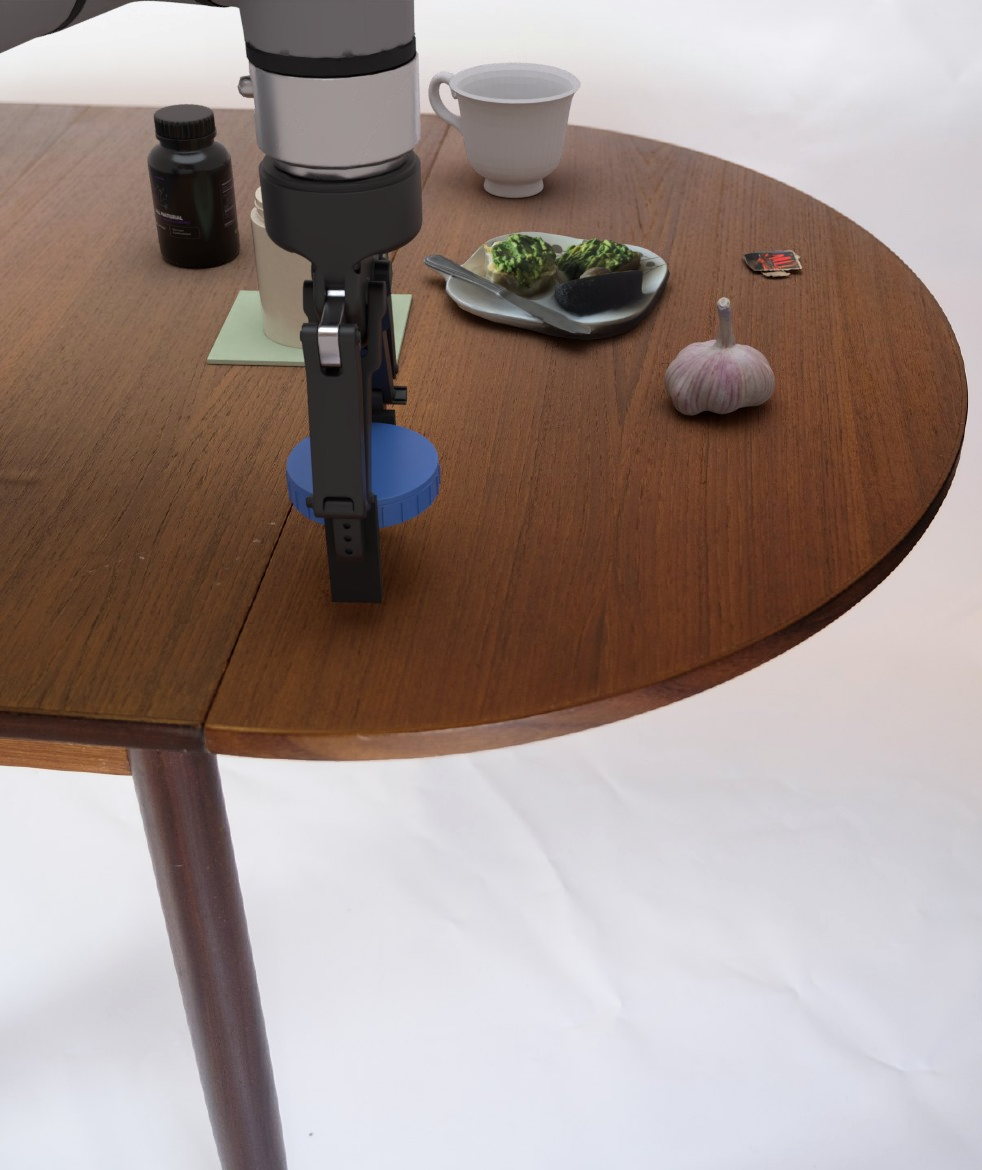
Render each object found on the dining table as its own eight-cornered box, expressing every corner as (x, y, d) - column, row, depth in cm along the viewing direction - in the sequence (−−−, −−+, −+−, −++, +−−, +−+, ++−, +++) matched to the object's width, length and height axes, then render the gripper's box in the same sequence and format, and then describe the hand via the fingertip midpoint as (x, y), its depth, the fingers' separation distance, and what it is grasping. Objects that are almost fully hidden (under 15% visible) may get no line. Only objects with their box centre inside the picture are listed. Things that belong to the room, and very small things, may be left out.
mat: (207, 364, 94) (206, 359, 94) (240, 294, 104) (239, 290, 104) (396, 369, 94) (396, 364, 94) (412, 299, 103) (412, 294, 103)
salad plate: (382, 318, 100) (379, 262, 98) (471, 236, 114) (471, 185, 111) (617, 363, 95) (622, 305, 92) (683, 271, 108) (688, 218, 105)
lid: (446, 451, 73) (445, 424, 72) (432, 533, 67) (431, 504, 66) (302, 446, 74) (300, 419, 73) (275, 528, 67) (271, 499, 66)
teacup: (459, 155, 131) (458, 52, 125) (595, 177, 125) (600, 72, 119) (402, 193, 122) (398, 85, 116) (544, 219, 117) (548, 107, 111)
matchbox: (736, 257, 110) (737, 252, 109) (791, 251, 111) (792, 246, 111) (760, 279, 106) (761, 274, 106) (816, 272, 107) (817, 267, 107)
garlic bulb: (658, 425, 87) (668, 317, 83) (666, 375, 93) (676, 271, 88) (770, 436, 86) (788, 327, 82) (771, 384, 92) (787, 280, 87)
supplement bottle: (154, 270, 108) (131, 126, 100) (168, 238, 113) (146, 99, 106) (236, 269, 108) (219, 125, 100) (246, 238, 113) (230, 99, 106)
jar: (253, 347, 96) (237, 211, 89) (273, 301, 102) (259, 171, 95) (360, 350, 95) (351, 213, 89) (373, 304, 102) (366, 173, 95)
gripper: (296, 84, 68) (329, 453, 81) (207, 238, 51) (268, 669, 65) (438, 86, 67) (447, 456, 81) (395, 242, 51) (416, 674, 64)
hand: (367, 550), depth 73 cm, fingers closed on lid, 8 cm apart
